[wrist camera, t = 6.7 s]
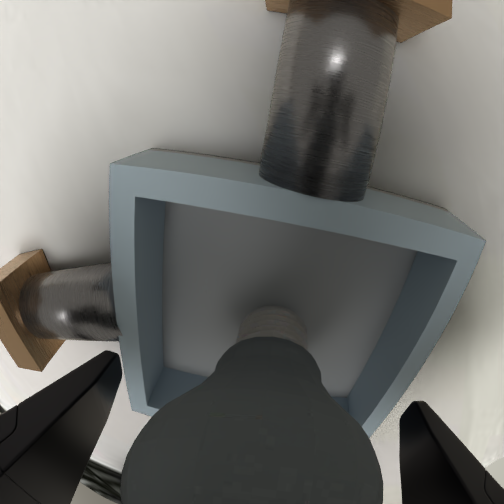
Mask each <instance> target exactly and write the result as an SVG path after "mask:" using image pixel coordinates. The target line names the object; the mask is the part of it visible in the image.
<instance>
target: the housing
mask: <svg viewBox="0 0 504 504" xmlns="http://www.w3.org/2000/svg"><path fill="white" fill-rule="evenodd" d="M259 169H260V163H255V162H249V161H243V160H237V159H231V158H224V157H218V156H211V155H204V154H197V153H189V152H181V151H173V150H164V149H155V148H151V149H149V150H146V151H143V152H140V153H137V154H134V155H132V156H129V157H126V158H123V159H121V160H118V161H115V162H113V163H110V178H109V225H110V252H111V268H112V281H113V293H114V303H115V312H116V320H117V325H118V327H119V329H120V331H121V333H122V335H123V336H119V343H120V349H121V356H122V362H123V368H124V373H125V379H126V384H127V389H128V394H129V399H130V403H131V408H132V410H133V411H136V412H139V413H142V414H145V415H149V416H153V415H154V414H155V413H156V412H157V411H158V410H160V409H161V408H162V407H163V406H164V405H166V404H167V403H168V402H170V401H172V400H174V399H175V398H177V397H179V396H181V395H182V394H184V393H186V392H188V391H189V390H191V389H193V388H195V387H196V386H198V385H200V384H201V383H203V382H204V381H205V380H206V379H207V378H208V377H209V376H210V375H211V374H212V373H213V372H214V371H215V368H216V365H217V362H218V360H219V359H220V358H221V357H222V355H223V354H224V353H225V352H226V351H227V350H228V349H229V348H230V347H231V346H233V345H235V342H236V339H237V336H238V332H239V328H240V325H241V322H242V321H243V320H244V318H245V317H246V316H247V315H248V314H250V313H251V312H253V311H254V310H256V309H257V308H260V307H263V306H270V305H277V306H282V307H286V308H288V309H290V310H292V311H294V312H295V313H296V314H297V315H298V316H299V317H300V318H301V319H302V321H303V322H304V324H305V326H306V328H307V341H308V352H309V353H310V354H311V355H312V356H313V358H314V359H315V361H316V363H317V365H318V367H319V369H320V371H321V381H322V384H323V386H324V387H325V389H326V390H327V392H328V393H329V395H330V396H331V397H332V398H333V399H334V400H335V401H336V402H337V403H338V404H339V405H340V406H341V407H342V408H343V409H345V410H346V411H347V412H348V413H349V414H350V415H351V416H352V417H353V418H354V419H355V420H356V421H357V422H358V423H359V424H360V425H361V427H362V428H363V430H364V431H365V432H366V434H367V435H368V437H369V438H370V436H371V435H372V434H373V433H374V432H375V430H376V429H377V428H378V427H379V425H380V424H381V423H382V422H383V420H384V419H385V418H386V417H387V415H388V414H389V413H390V411H391V410H392V409H393V407H394V406H395V405H396V403H397V402H398V401H399V399H400V398H401V397H402V395H403V394H404V392H405V391H406V390H407V388H408V387H409V385H410V384H411V382H412V381H413V379H414V378H415V376H416V375H417V373H418V372H419V370H420V369H421V367H422V366H423V364H424V363H425V361H426V359H427V358H428V356H429V355H430V353H431V351H432V350H433V348H434V346H435V345H436V343H437V341H438V340H439V338H440V336H441V335H442V333H443V331H444V329H445V327H446V326H447V324H448V322H449V320H450V318H451V316H452V315H453V313H454V311H455V309H456V307H457V305H458V303H459V301H460V299H461V297H462V295H463V293H464V291H465V289H466V287H467V284H468V282H469V280H470V278H471V276H472V274H473V271H474V269H475V267H476V264H477V262H478V260H479V257H480V255H481V253H482V250H483V248H484V245H485V242H486V240H484V239H483V238H482V237H481V236H480V235H478V234H477V233H476V232H475V231H473V230H472V229H471V228H470V227H468V226H467V225H466V224H465V223H463V222H462V221H461V220H460V219H458V218H457V217H456V216H454V215H453V214H452V213H450V212H449V211H448V210H446V209H444V208H441V207H438V206H435V205H431V204H428V203H425V202H422V201H418V200H415V199H411V198H408V197H404V196H401V195H397V194H394V193H390V192H386V191H383V190H379V189H375V188H371V187H367V189H366V192H365V196H364V199H363V200H362V201H358V202H343V201H335V200H328V199H323V198H318V197H313V196H309V195H305V194H301V193H298V192H294V191H291V190H288V189H285V188H282V187H279V186H277V185H274V184H272V183H270V182H268V181H266V180H264V179H263V178H261V177H260V176H259Z"/></svg>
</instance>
